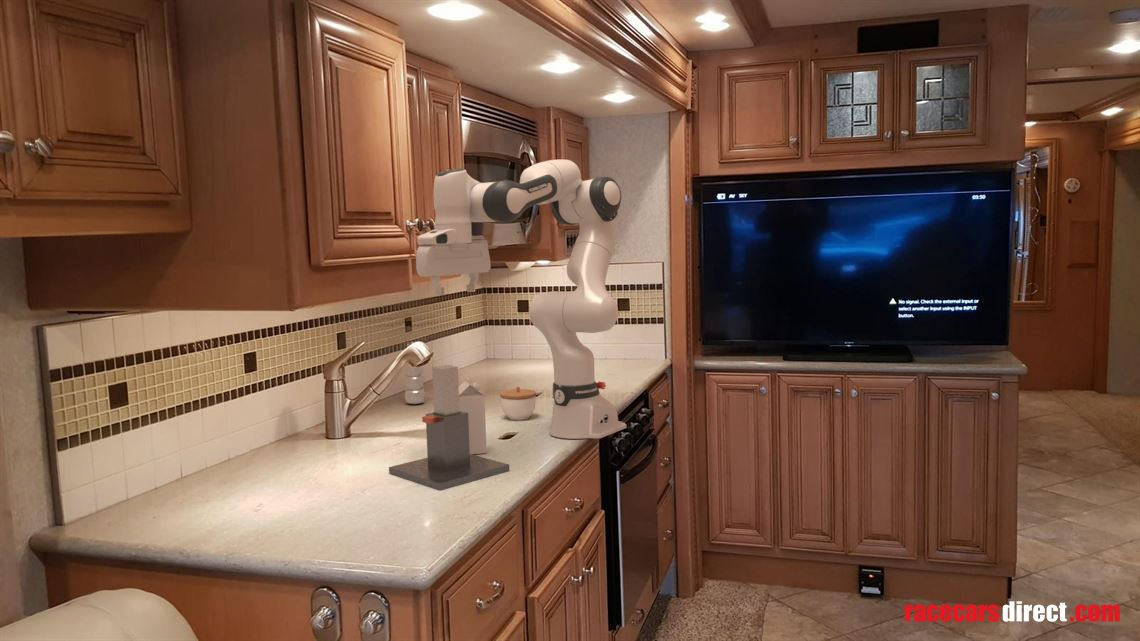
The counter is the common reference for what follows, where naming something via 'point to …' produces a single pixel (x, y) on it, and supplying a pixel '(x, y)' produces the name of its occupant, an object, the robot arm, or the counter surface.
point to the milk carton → (474, 415)
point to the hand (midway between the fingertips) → (455, 293)
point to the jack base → (448, 456)
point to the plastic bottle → (414, 384)
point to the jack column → (445, 390)
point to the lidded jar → (518, 403)
